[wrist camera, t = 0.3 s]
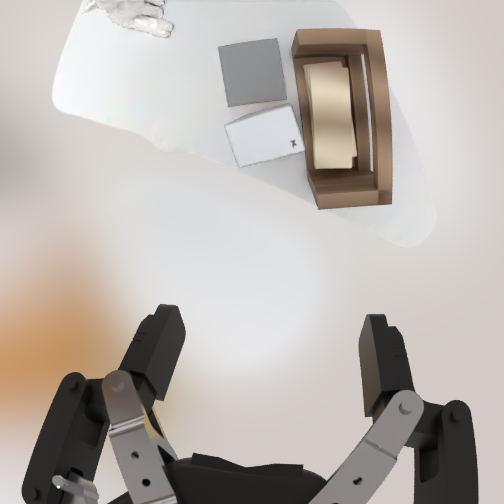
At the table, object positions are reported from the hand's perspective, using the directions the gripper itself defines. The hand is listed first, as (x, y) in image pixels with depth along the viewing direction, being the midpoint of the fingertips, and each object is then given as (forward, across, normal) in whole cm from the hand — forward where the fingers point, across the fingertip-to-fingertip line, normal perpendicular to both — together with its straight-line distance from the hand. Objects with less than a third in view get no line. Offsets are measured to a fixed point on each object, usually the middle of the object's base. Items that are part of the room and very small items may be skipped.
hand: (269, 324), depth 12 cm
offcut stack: (+27, -5, -5) cm, 28 cm away
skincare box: (+28, +2, -3) cm, 28 cm away
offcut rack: (+28, -5, -4) cm, 29 cm away
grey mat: (+28, +4, -10) cm, 30 cm away
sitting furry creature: (+29, +17, -21) cm, 40 cm away
